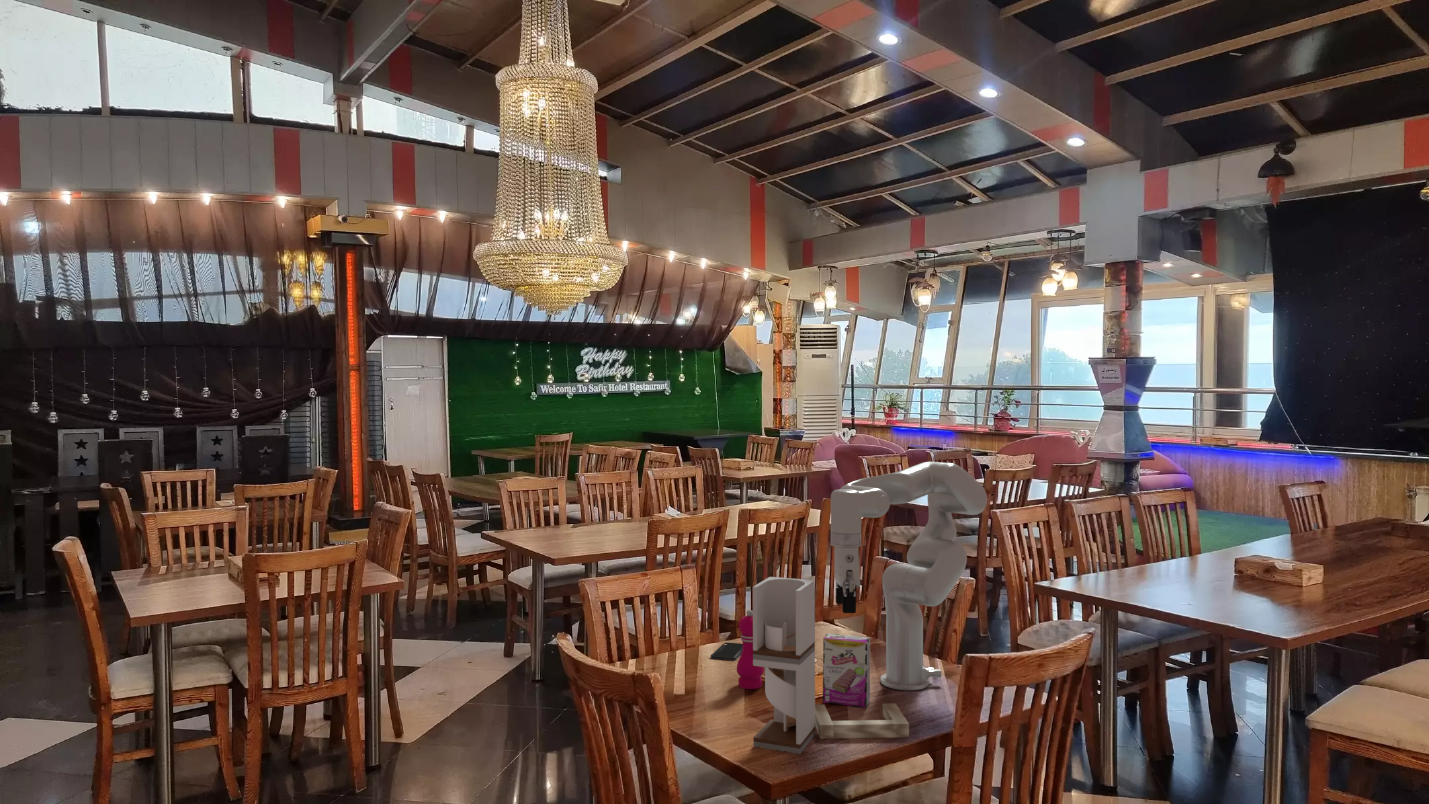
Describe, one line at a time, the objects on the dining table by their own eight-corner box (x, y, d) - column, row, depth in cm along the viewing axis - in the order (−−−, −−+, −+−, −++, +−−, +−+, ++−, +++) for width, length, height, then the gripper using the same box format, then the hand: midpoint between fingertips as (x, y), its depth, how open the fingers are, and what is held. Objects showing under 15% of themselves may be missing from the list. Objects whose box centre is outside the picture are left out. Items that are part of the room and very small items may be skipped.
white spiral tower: (770, 728, 204) (769, 576, 204) (815, 734, 200) (814, 580, 200) (753, 746, 194) (752, 586, 193) (800, 753, 190) (799, 590, 189)
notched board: (895, 715, 212) (895, 703, 212) (909, 736, 199) (909, 723, 199) (811, 717, 211) (811, 704, 211) (820, 738, 198) (820, 724, 198)
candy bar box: (822, 703, 220) (822, 637, 220) (826, 696, 225) (826, 632, 225) (867, 708, 217) (867, 641, 217) (870, 701, 221) (870, 636, 221)
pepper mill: (764, 681, 237) (764, 606, 237) (763, 690, 230) (763, 613, 230) (737, 680, 238) (737, 606, 238) (735, 689, 231) (735, 612, 231)
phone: (749, 644, 270) (735, 658, 256) (749, 647, 270) (735, 662, 256) (724, 642, 272) (709, 655, 258) (724, 645, 272) (709, 659, 258)
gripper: (868, 545, 212) (867, 616, 212) (854, 533, 229) (854, 600, 229) (836, 545, 212) (836, 616, 212) (825, 533, 229) (825, 600, 229)
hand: (845, 608), depth 220 cm, fingers open, 9 cm apart
